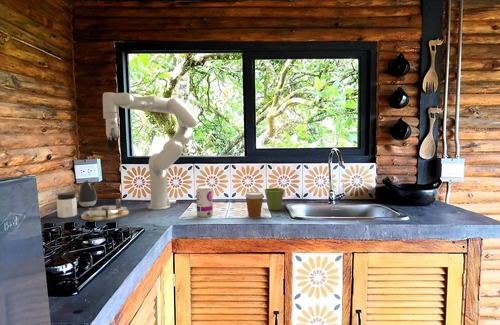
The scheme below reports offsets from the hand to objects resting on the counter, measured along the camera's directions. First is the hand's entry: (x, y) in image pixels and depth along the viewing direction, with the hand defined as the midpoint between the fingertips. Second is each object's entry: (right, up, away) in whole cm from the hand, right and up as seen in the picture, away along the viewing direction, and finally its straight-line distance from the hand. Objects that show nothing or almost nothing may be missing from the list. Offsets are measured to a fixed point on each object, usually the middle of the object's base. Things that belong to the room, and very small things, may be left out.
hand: (112, 147), depth 174 cm
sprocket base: (-2, -36, -3) cm, 36 cm away
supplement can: (+51, -36, -6) cm, 63 cm away
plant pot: (+89, -35, +7) cm, 95 cm away
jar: (-22, -37, -4) cm, 43 cm away
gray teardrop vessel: (-23, -35, +20) cm, 46 cm away
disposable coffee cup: (+77, -36, -8) cm, 85 cm away
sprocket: (-2, -35, -3) cm, 35 cm away
